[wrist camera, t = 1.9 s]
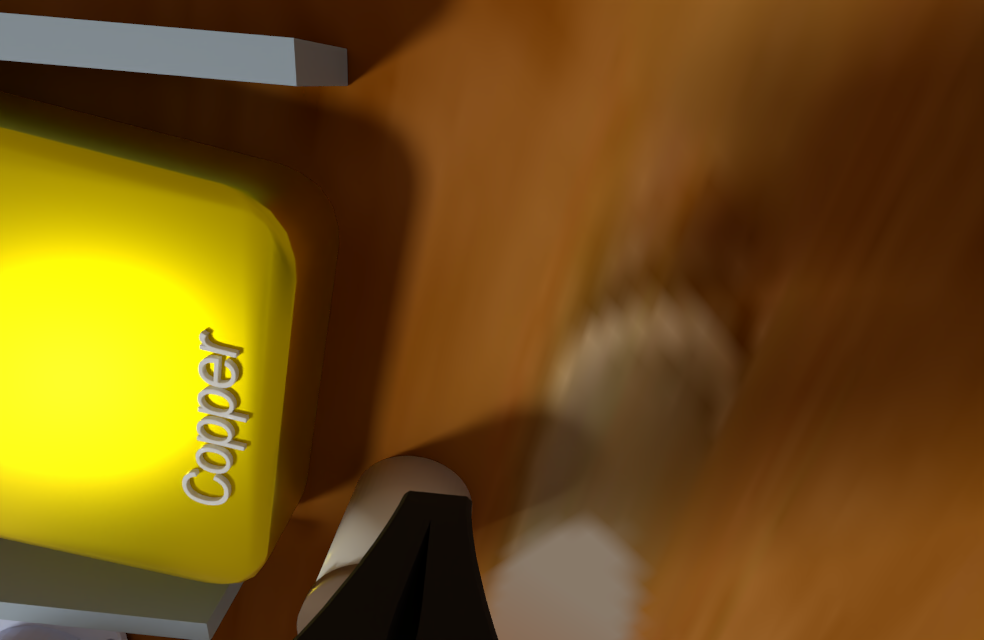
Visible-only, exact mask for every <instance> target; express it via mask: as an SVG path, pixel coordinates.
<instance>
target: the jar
mask: <svg viewBox="0 0 984 640" xmlns="http://www.w3.org/2000/svg"><path fill="white" fill-rule="evenodd" d="M408 491H419V492H429V493H439V494H448V495H458V496H467V497H468V498H469V499H470V500H471V496H470V493H469V491H468V489H467V487H466V485H465V484H464V482H463V481H462V480H461V479H460V477H459V476H458V475H457V474H455V473H454V472H453V471H452V470H451V469H449V468H447V467H446V466H444V465H442V464H440V463H438V462H436V461H433V460H431V459H427V458H423V457H418V456H396V457H391V458H387V459H384V460H382V461H379V462H377V463H375V464H374V465H372V466H371V467H369V468H368V469H367V470H366V471H365V472H364V473H363V474H362V475H361V477H360V479H359V480H358V482H357V485H356V487H355V489H354V492H353V494H352V497H351V499H350V501H349V504H348V506H347V508H346V511H345V513H344V516H343V518H342V520H341V523H340V525H339V528H338V530H337V532H336V535H335V537H334V540H333V542H332V544H331V547H330V549H329V551H328V554H327V556H326V559H325V561H324V563H323V566H322V568H321V571H320V573H319V575H318V578H317V580H316V582H315V583H314V584H313V585H312V587H311V588H310V590H309V591H308V593H307V596H306V598H305V601H304V603H303V605H302V608H301V610H300V612H299V615H298V619H297V633H298V634H299V633H300V632H301V631H302V630H303V629H304V628H305V627H306V625H307V624H308V623H309V622H310V621H311V620H312V619H313V618H314V617H315V616H316V614H317V613H318V612H319V611H320V610H321V609H322V608H323V607H324V605H325V604H326V603H327V602H328V601H329V599H330V598H331V597H332V596H333V594H334V593H335V592H336V591H337V590H338V588H339V587H340V586H341V585H342V584H343V582H344V581H345V580H346V579H347V578H348V576H349V575H350V574H351V573H352V571H353V570H354V569H355V567H356V566H357V565H358V563H359V562H360V561H361V559H362V558H363V557H364V555H365V554H366V553H367V551H368V550H369V548H370V547H371V546H372V544H373V543H374V542H375V540H376V539H377V537H378V536H379V534H380V533H381V531H382V530H383V529H384V527H385V526H386V524H387V523H388V521H389V519H390V518H391V516H392V515H393V513H394V511H395V510H396V508H397V506H398V505H399V503H400V501H401V499H402V497H403V495H404V494H405V493H407V492H408ZM471 501H472V500H471ZM471 516H472V509H471Z"/></svg>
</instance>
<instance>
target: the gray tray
mask: <svg viewBox="0 0 984 640" xmlns="http://www.w3.org/2000/svg"><path fill="white" fill-rule="evenodd" d="M0 60H6V61H17V62H28V63H40V64H51V65H63V66H74V67H85V68H97V69H108V70H119V71H131V72H142V73H153V74H165V75H176V76H187V77H199V78H210V79H222V80H233V81H244V82H256V83H267V84H278V85H290V86H348V71H347V49H346V48H341V47H336V46H331V45H326V44H321V43H316V42H311V41H306V40H301V39H296V38H289V37H277V36H266V35H254V34H242V33H231V32H219V31H208V30H196V29H185V28H173V27H161V26H150V25H138V24H127V23H115V22H104V21H92V20H80V19H69V18H57V17H46V16H34V15H23V14H11V13H0ZM243 582H244V581H243ZM243 582H241V583H232V584H214V583H204V582H200V581H195V580H190V579H186V578H181V577H177V576H172V575H168V574H163V573H158V572H154V571H149V570H145V569H140V568H136V567H131V566H126V565H122V564H117V563H113V562H108V561H104V560H99V559H94V558H90V557H85V556H81V555H76V554H72V553H67V552H62V551H58V550H53V549H49V548H44V547H40V546H35V545H30V544H26V543H21V542H17V541H12V540H8V539H3V538H0V619H2V620H12V621H21V622H30V623H40V624H49V625H58V626H68V627H77V628H87V629H96V630H105V631H115V632H124V633H133V634H143V635H152V636H161V637H171V638H180V639H190V640H211V639H212V637H213V635H214V634H215V632H216V630H217V628H218V627H219V625H220V623H221V621H222V619H223V618H224V616H225V614H226V612H227V611H228V609H229V607H230V605H231V603H232V602H233V600H234V598H235V596H236V595H237V593H238V591H239V589H240V587H241V586H242V584H243Z"/></svg>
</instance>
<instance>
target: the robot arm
mask: <svg viewBox="0 0 984 640" xmlns="http://www.w3.org/2000/svg"><path fill="white" fill-rule="evenodd" d="M471 509H472V501H471V500H470V499H469V498H468V497H467V496H458V495H448V494H439V493H429V492H419V491H408V492H407V493H405V494H404V495H403V497H402V499H401V501H400V503H399V505H398V506H397V508H396V510H395V511H394V513H393V515H392V516H391V518H390V519H389V521H388V523H387V524H386V526H385V527H384V529H383V530H382V531H381V533H380V534H379V536H378V537H377V539H376V540H375V542H374V543H373V544H372V546H371V547H370V548H369V550H368V551H367V553H366V554H365V555H364V557H363V558H362V559H361V561H360V562H359V563H358V565H357V566H356V567H355V569H354V570H353V571H352V573H351V574H350V575H349V576H348V578H347V579H346V580H345V581H344V582H343V584H342V585H341V586H340V587H339V588H338V590H337V591H336V592H335V593H334V594H333V596H332V597H331V598H330V599H329V601H328V602H327V603H326V604H325V605H324V607H323V608H322V609H321V610H320V611H319V612H318V613H317V614H316V616H315V617H314V618H313V619H312V620H311V621H310V622H309V623H308V624H307V625H306V627H305V628H304V629H303V630H302V631H301V632H300V633H299V634H298V635H297V636H296V637H295V638H294V639H293V640H498V638H497V635H496V632H495V628H494V625H493V622H492V618H491V615H490V611H489V608H488V605H487V601H486V597H485V593H484V589H483V585H482V581H481V576H480V572H479V567H478V563H477V558H476V552H475V546H474V539H473V531H472V519H471ZM0 640H127V636H126V633H124V632H115V631H105V630H96V629H87V628H77V627H68V626H58V625H49V624H40V623H30V622H21V621H12V620H2V619H0Z"/></svg>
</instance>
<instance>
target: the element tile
mask: <svg viewBox="0 0 984 640" xmlns="http://www.w3.org/2000/svg"><path fill="white" fill-rule="evenodd" d="M338 249H339V227H338V223H337V220H336V216H335V212H334V209H333V205H332V204H331V202H330V201H329V199H328V198H327V196H326V195H325V194H324V192H323V191H322V189H321V188H320V187H319V186H318V185H317V184H316V183H314V182H313V181H311V180H310V179H309V178H307V177H306V176H304V175H303V174H302V173H300V172H299V171H296V170H294V169H292V168H289V167H287V166H285V165H283V164H279V163H275V162H272V161H268V160H264V159H260V158H256V157H252V156H248V155H245V154H241V153H237V152H233V151H229V150H225V149H221V148H218V147H214V146H210V145H206V144H202V143H198V142H194V141H190V140H187V139H183V138H179V137H175V136H171V135H167V134H163V133H160V132H156V131H152V130H148V129H144V128H140V127H136V126H133V125H129V124H125V123H121V122H117V121H113V120H109V119H105V118H102V117H98V116H94V115H90V114H86V113H82V112H78V111H75V110H71V109H67V108H63V107H59V106H55V105H51V104H48V103H44V102H40V101H36V100H32V99H28V98H24V97H20V96H17V95H13V94H9V93H5V92H1V91H0V538H3V539H8V540H12V541H17V542H21V543H26V544H30V545H35V546H40V547H44V548H49V549H53V550H58V551H62V552H67V553H72V554H76V555H81V556H85V557H90V558H94V559H99V560H104V561H108V562H113V563H117V564H122V565H126V566H131V567H136V568H140V569H145V570H149V571H154V572H158V573H163V574H168V575H172V576H177V577H181V578H186V579H190V580H195V581H200V582H204V583H214V584H232V583H241V582H243V581H246V580H248V579H250V578H252V577H254V576H255V575H256V574H257V573H258V572H259V571H260V569H261V568H262V567H263V566H264V565H265V563H266V562H267V560H268V558H269V556H270V555H271V553H272V551H273V549H274V547H275V545H276V543H277V542H278V540H279V538H280V536H281V534H282V532H283V530H284V529H285V527H286V525H287V523H288V521H289V519H290V517H291V516H292V514H293V512H294V510H295V508H296V506H297V504H298V503H299V501H300V499H301V497H302V495H303V492H304V489H305V487H306V484H307V477H308V470H309V462H310V455H311V448H312V440H313V433H314V425H315V418H316V411H317V403H318V396H319V389H320V381H321V374H322V367H323V359H324V352H325V345H326V337H327V330H328V323H329V315H330V308H331V301H332V293H333V286H334V278H335V271H336V264H337V256H338Z"/></svg>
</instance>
